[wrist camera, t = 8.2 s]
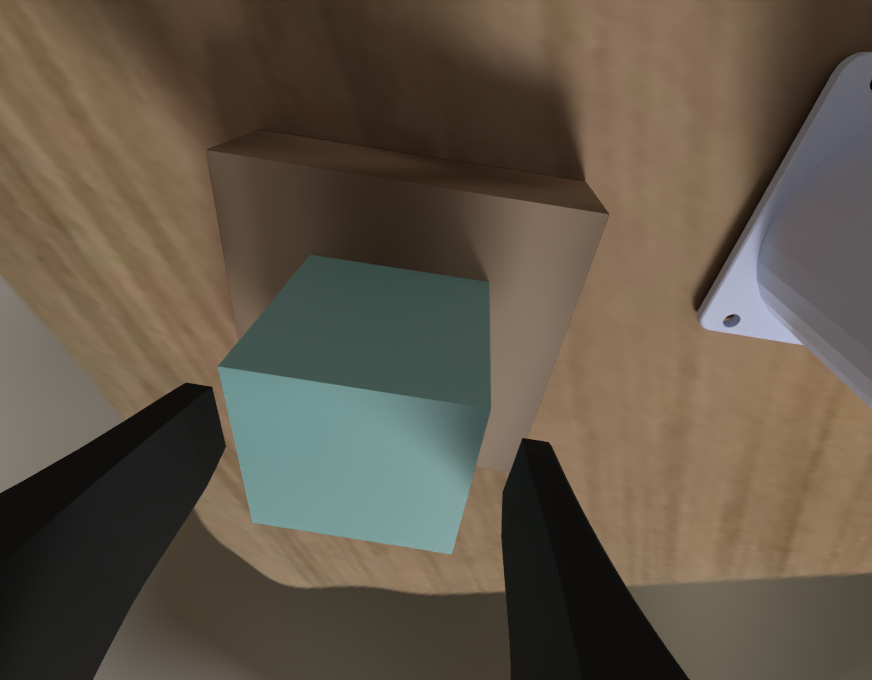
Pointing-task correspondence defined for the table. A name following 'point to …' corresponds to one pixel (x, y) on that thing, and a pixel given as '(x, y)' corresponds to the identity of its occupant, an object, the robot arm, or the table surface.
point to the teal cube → (363, 402)
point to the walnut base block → (415, 244)
